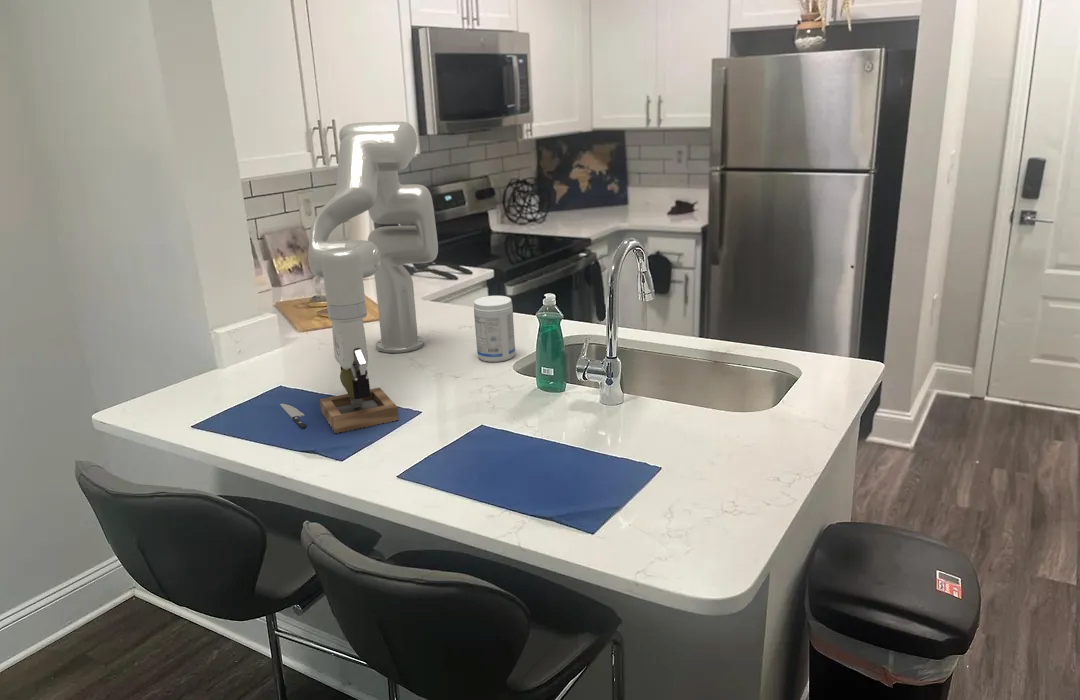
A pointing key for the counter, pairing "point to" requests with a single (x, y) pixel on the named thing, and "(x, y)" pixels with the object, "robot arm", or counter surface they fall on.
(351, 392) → the light bulb
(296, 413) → the chef's knife
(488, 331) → the supplement tub
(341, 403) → the cradle
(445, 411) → the counter surface
